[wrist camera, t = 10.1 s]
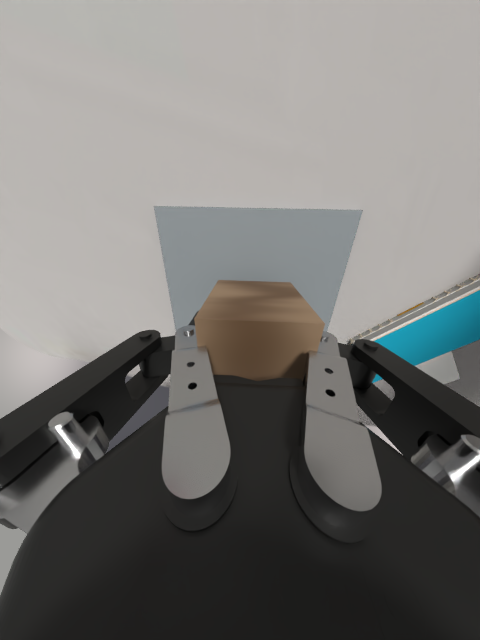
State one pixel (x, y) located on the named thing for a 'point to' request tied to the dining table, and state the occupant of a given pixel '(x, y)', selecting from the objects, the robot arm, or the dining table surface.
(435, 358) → the phone stand
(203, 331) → the walnut block
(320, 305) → the grey pad
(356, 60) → the dining table surface
